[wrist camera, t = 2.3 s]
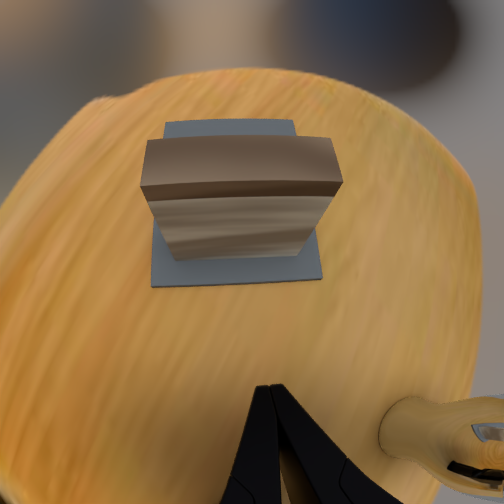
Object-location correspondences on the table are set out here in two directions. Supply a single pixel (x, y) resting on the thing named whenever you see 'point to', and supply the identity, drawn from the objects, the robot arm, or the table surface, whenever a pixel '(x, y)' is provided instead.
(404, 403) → the beer glass
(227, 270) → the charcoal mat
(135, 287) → the table surface
